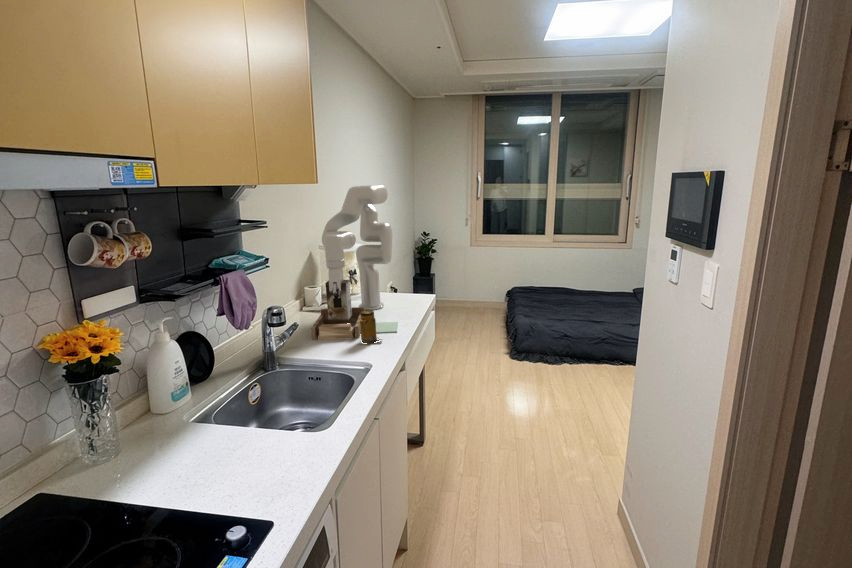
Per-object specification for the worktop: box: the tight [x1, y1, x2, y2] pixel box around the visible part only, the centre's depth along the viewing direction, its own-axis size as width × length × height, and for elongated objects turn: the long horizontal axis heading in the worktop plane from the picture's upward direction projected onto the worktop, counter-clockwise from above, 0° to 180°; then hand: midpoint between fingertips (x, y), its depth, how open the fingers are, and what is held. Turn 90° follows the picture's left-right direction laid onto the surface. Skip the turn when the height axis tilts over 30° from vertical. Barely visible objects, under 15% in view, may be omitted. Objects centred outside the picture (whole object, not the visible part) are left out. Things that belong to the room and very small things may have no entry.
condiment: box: [360, 310, 383, 345], centre depth 172 cm, size 7×8×12 cm
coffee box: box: [325, 279, 352, 319], centre depth 187 cm, size 9×6×16 cm
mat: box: [376, 321, 399, 334], centre depth 189 cm, size 13×13×1 cm
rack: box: [310, 306, 365, 341], centre depth 187 cm, size 22×19×7 cm
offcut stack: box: [317, 324, 355, 341], centre depth 179 cm, size 4×14×5 cm, turn 90°
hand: (339, 304), depth 188 cm, fingers closed on coffee box, 6 cm apart
